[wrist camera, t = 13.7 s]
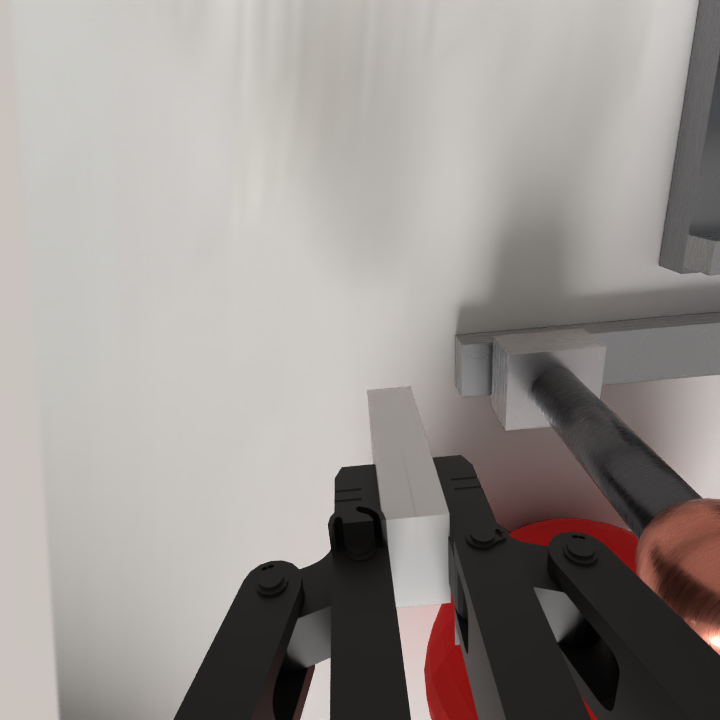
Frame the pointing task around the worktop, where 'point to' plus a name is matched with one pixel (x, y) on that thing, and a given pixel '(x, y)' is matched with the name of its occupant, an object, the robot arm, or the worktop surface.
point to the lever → (615, 466)
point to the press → (678, 253)
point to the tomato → (443, 657)
